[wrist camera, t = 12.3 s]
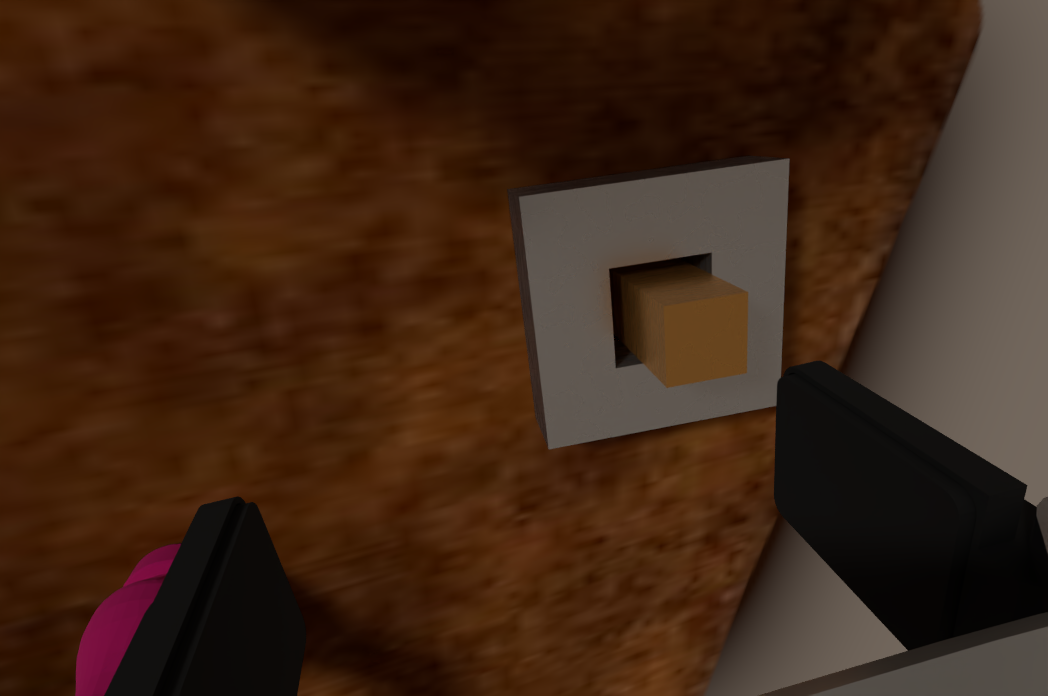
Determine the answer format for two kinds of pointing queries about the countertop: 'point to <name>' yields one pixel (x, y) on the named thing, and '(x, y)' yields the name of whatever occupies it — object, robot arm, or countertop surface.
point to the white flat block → (633, 238)
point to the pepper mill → (119, 622)
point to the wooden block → (680, 321)
